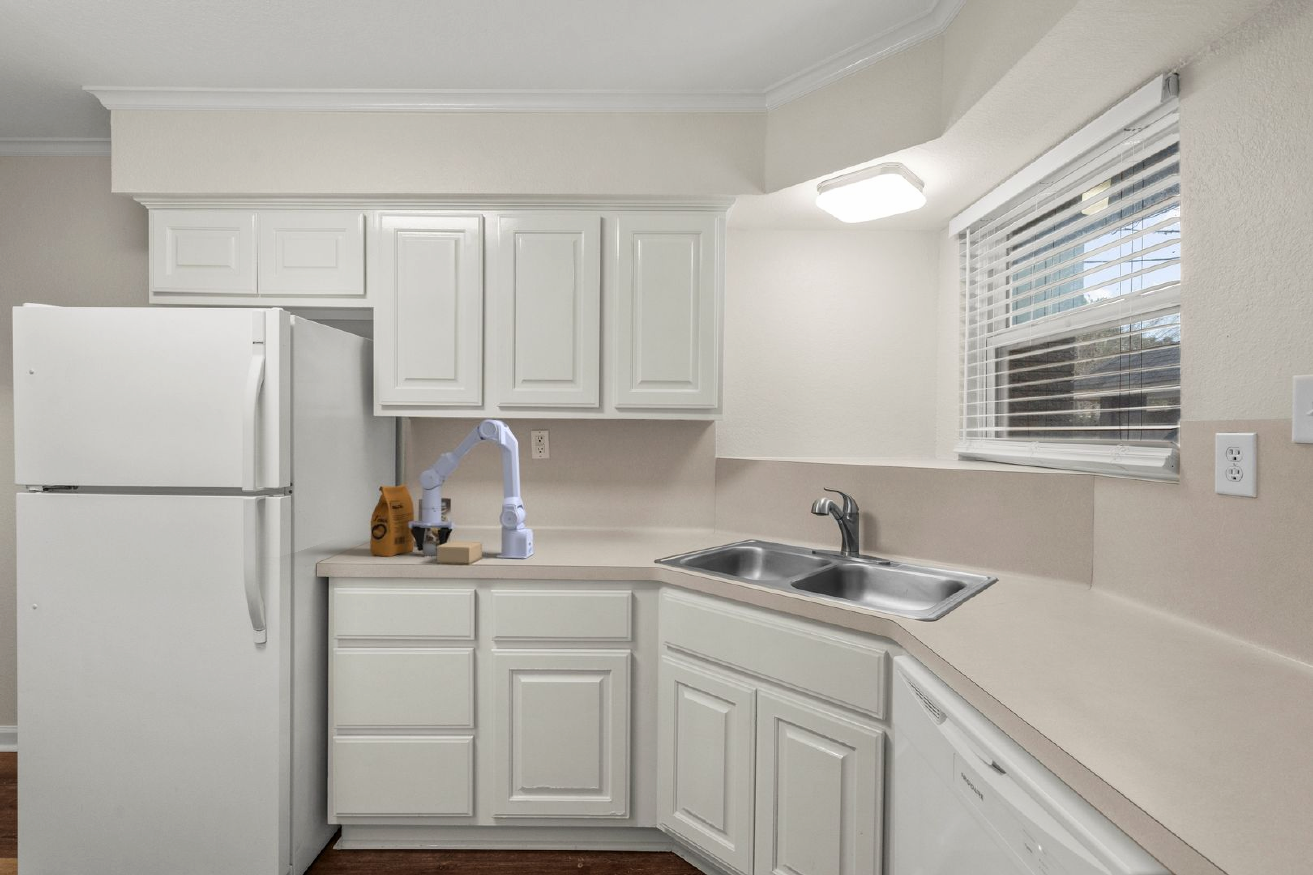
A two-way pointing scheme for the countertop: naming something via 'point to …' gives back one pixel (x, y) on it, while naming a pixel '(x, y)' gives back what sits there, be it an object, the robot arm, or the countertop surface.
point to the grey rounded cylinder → (430, 548)
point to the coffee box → (432, 533)
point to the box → (459, 556)
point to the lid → (459, 545)
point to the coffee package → (392, 522)
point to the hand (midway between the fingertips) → (431, 550)
